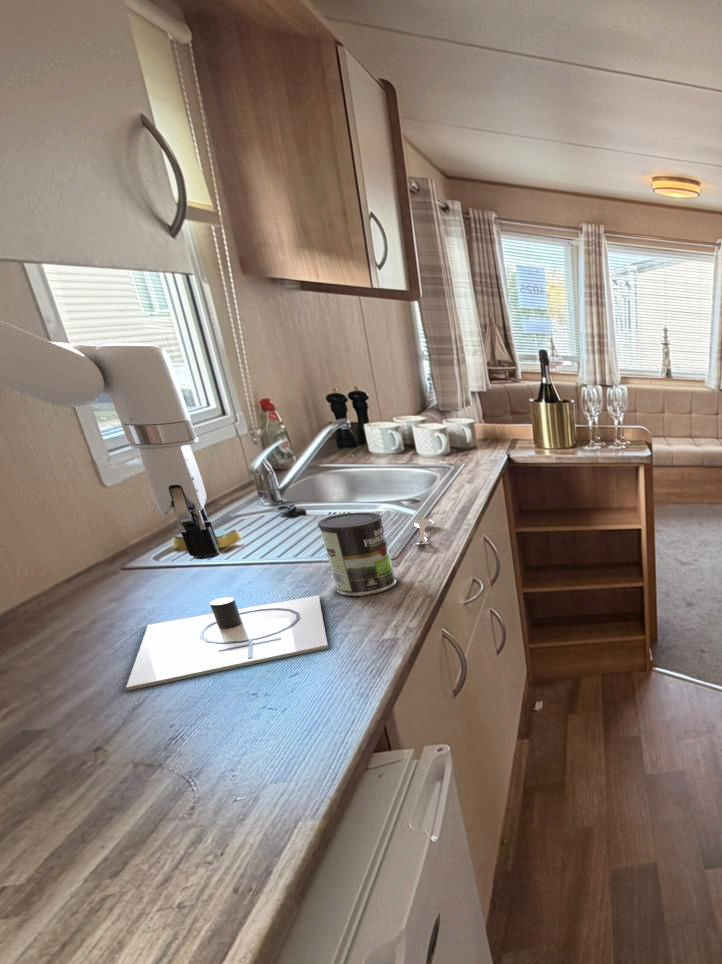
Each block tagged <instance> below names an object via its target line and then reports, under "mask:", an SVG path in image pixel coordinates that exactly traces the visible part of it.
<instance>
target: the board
mask: <svg viewBox="0 0 722 964" xmlns="http://www.w3.org/2000/svg"><path fill="white" fill-rule="evenodd" d="M238 611H239V614H240V617H241V620H242V624H241V625H239V626H236V627H233V628H227V629H221V628H219V627H218V625H217V622H216V619H215V617H214V614H213V613H208V614H201V615H197V616H192V617H186V618H179V619H174V620H168V621H162V622H156V623H152V624H147V625H146V629H145V632H144V635H143V638H142V641H141V644H140V647H139V650H138V651H137V655H136V657H135V659H134V663H133V667H132V669H131V672H130V675H129V678H128V680H127V684H126V685H125V689H126V691H128V692H129V691H133V690H134V691H135V690H137V689H143V688H147V687H152V686H156V685H161V684H166V683H171V682H175V681H181V680H185V679H190V678H194V677H195V678H196V677H199V676H204V675H209V674H213V673H218V672H223V671H227V670H232V669H236V668H242V667H247V666H250V665H256V664H260V663H264V662H265V663H266V662H269V661H274V660H279V659H284V658H288V657H293V656H297V655H298V656H299V655H302V654H308V653H311V652H317V651H322V650H326V649H329V644H328V639H327V632H326V627H325V622H324V617H323V609H322V602H321V598H320V595H318V594H317V595H313V596H312V595H311V596H306V597H300V598H295V599H290V600H289V599H288V600H283V601H278V602H272V603H266V604H259V605H254V606H249V607H243V608H238Z"/></svg>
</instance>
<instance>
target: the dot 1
mask: <svg viewBox="0 0 722 964" xmlns="http://www.w3.org/2000/svg"><path fill="white" fill-rule="evenodd" d="M205 527H206V528H209V531H210V533H211V536H212V539H213V542H214V544H215V547H216V550H217V551H216V553H213V554H205V555H198V556H192V559H194V560H208V559H213V558H216V557H218V556H220V554H221V553H220V550H219V548H218V545H217V544H216V541H215V539H214V536H213V533H212V530H211V528H210V527H208V526H205Z"/></svg>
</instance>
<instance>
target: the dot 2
mask: <svg viewBox="0 0 722 964" xmlns="http://www.w3.org/2000/svg"><path fill="white" fill-rule="evenodd" d="M209 606H210V608H211V611H212V614H214V617H215V619H216V622H217V625H218V627H219V628H221V629H227V628H233V627H236V626H239V625H241V624H242V620H241V617H240V614H239V611H238V609H239V608H238V605H237V603H236V600H235V598H234V597H221V598H217V599H213V600H212V601H210V602H209Z"/></svg>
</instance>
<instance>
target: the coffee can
mask: <svg viewBox="0 0 722 964" xmlns="http://www.w3.org/2000/svg"><path fill="white" fill-rule="evenodd" d="M317 526H318V528H319V530H320V533H321V537H322V541H323V544H324V549H325V552H326V555H327V559H328V563H329V566H330V570H331V574H332V577H333V581H334V584H335V588H336V593H338V594H339V595H342V596H347V597H358V596H359V597H360V596H368V595H374V594H378V593H382V592H385V591H387V590H390V589H391V588H393V587H394V586H396V584H397V579H396V576H395V573H394V567H393V563H392V560H391V559H392V558H391V555H390V551H389V548H388V542H387V538H386V534H385V529H384V525H383V518H382V515H380V514H379V513H375V512H368V511H367V512H366V511H365V512H363V511H362V512H360V511H359V512H358V511H357V512H348V513H340V514H334V515H330V516H328V517H324V518H322V519H320V520H319V521H318V522H317Z"/></svg>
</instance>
